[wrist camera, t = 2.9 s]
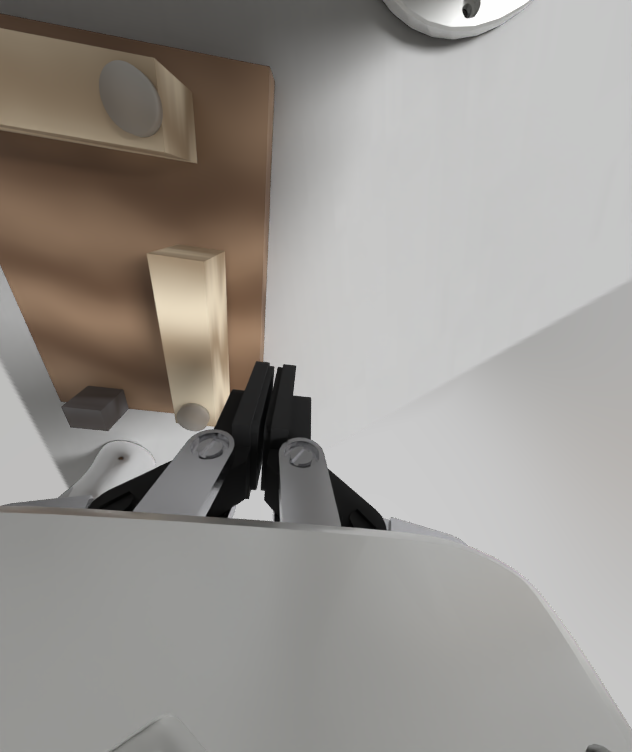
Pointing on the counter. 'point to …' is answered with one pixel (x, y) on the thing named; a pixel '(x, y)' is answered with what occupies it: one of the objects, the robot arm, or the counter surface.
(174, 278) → the hinged leg
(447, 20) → the robot arm
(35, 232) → the stool frame
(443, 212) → the counter surface
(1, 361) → the counter surface
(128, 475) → the beer glass
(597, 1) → the counter surface
